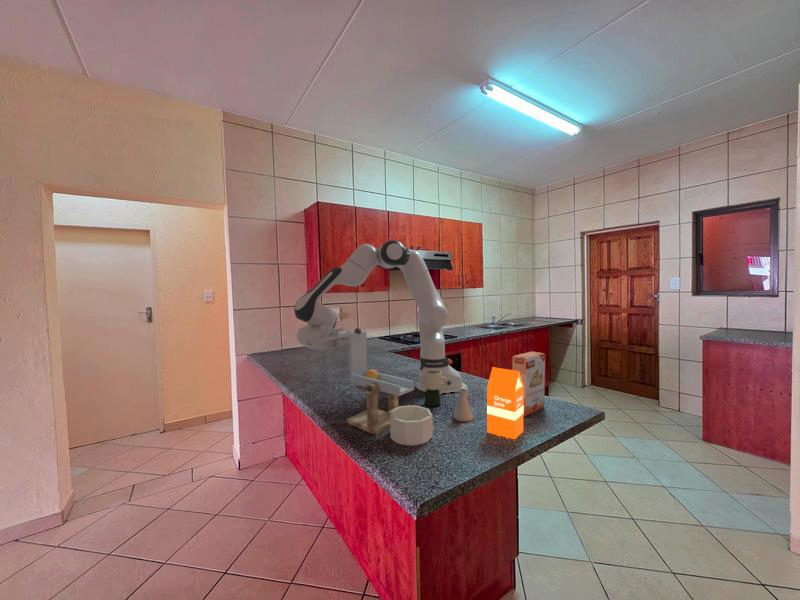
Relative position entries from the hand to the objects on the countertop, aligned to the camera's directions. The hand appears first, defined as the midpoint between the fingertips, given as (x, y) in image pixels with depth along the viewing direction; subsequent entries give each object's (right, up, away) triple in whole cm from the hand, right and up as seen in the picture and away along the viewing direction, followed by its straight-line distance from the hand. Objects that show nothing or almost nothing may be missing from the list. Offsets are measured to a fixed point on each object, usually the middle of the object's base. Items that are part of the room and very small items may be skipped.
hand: (350, 342), depth 114 cm
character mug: (+31, -26, +9) cm, 41 cm away
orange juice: (+51, -26, -15) cm, 59 cm away
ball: (+9, -10, -7) cm, 15 cm away
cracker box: (+66, -25, +3) cm, 70 cm away
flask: (+40, -26, -4) cm, 48 cm away
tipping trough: (+11, -15, -9) cm, 21 cm away
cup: (+21, -26, -17) cm, 38 cm away
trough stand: (+9, -26, -7) cm, 29 cm away
